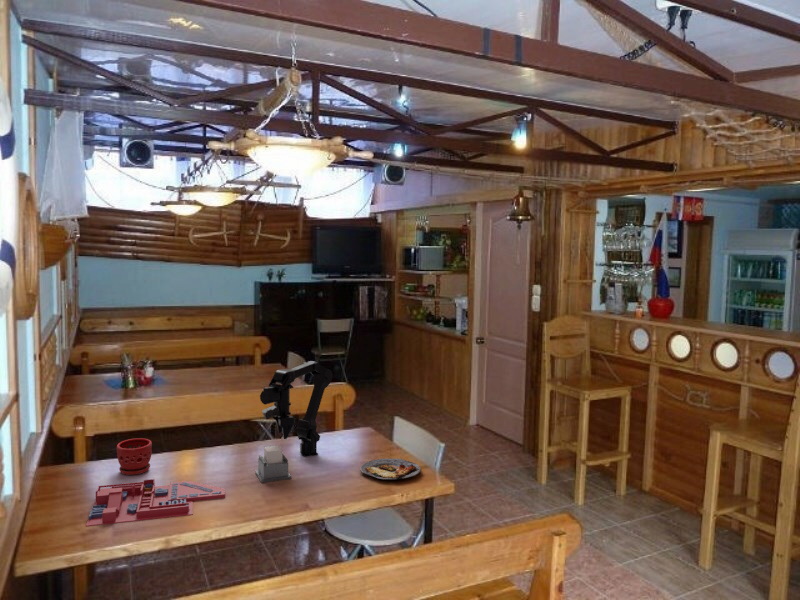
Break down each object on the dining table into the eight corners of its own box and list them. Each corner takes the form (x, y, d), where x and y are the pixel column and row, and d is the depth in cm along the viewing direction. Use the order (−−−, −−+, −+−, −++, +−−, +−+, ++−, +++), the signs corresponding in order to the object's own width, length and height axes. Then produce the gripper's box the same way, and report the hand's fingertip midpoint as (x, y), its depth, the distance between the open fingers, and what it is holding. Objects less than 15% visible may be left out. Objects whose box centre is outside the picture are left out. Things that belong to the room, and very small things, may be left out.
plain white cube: (278, 457, 253) (278, 445, 252) (282, 462, 247) (282, 449, 247) (264, 459, 250) (264, 447, 250) (267, 463, 245) (267, 451, 244)
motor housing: (282, 467, 259) (283, 449, 258) (291, 478, 246) (291, 460, 246) (254, 471, 254) (254, 453, 253) (261, 482, 241) (261, 464, 241)
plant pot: (112, 470, 251) (112, 442, 250) (145, 463, 260) (145, 436, 259) (123, 480, 241) (122, 450, 240) (156, 472, 250) (156, 443, 249)
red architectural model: (228, 512, 215) (228, 496, 215) (85, 529, 200) (85, 512, 200) (222, 480, 244) (222, 466, 244) (96, 494, 229) (96, 479, 228)
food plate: (431, 473, 255) (431, 464, 255) (393, 488, 238) (393, 479, 238) (388, 459, 272) (388, 452, 272) (349, 473, 255) (349, 465, 255)
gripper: (259, 396, 267) (259, 431, 268) (268, 406, 250) (268, 444, 251) (284, 394, 271) (284, 429, 273) (295, 404, 254) (295, 441, 256)
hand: (282, 435), depth 263 cm, fingers open, 9 cm apart
